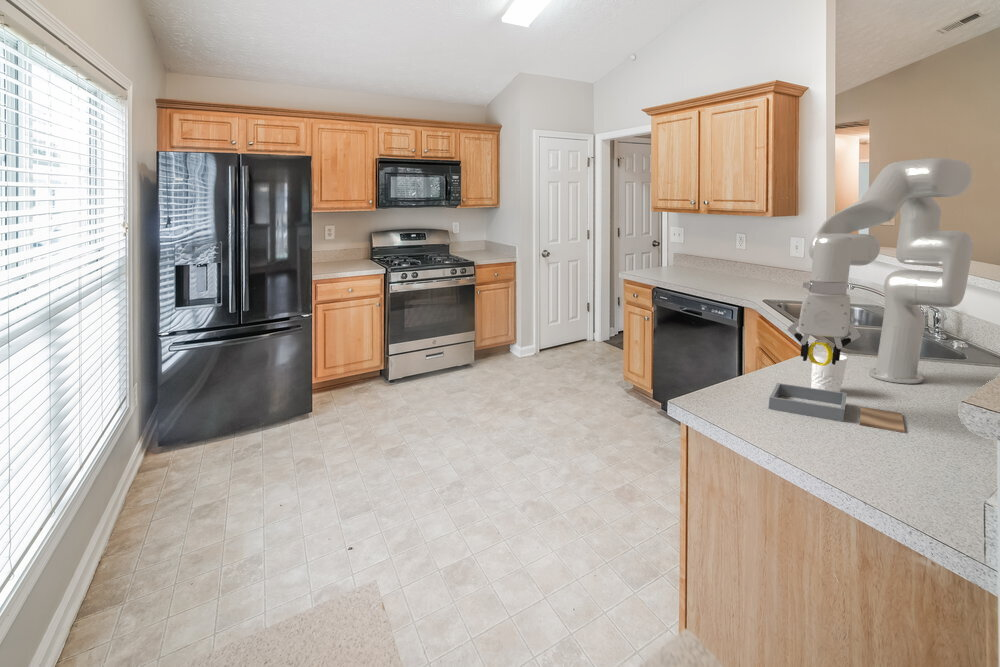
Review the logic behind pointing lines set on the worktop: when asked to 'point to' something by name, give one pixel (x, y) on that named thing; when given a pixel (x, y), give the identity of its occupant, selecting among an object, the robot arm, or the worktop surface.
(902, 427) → the board
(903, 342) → the robot arm
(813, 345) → the watch
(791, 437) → the worktop surface
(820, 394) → the bin
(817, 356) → the white cup
